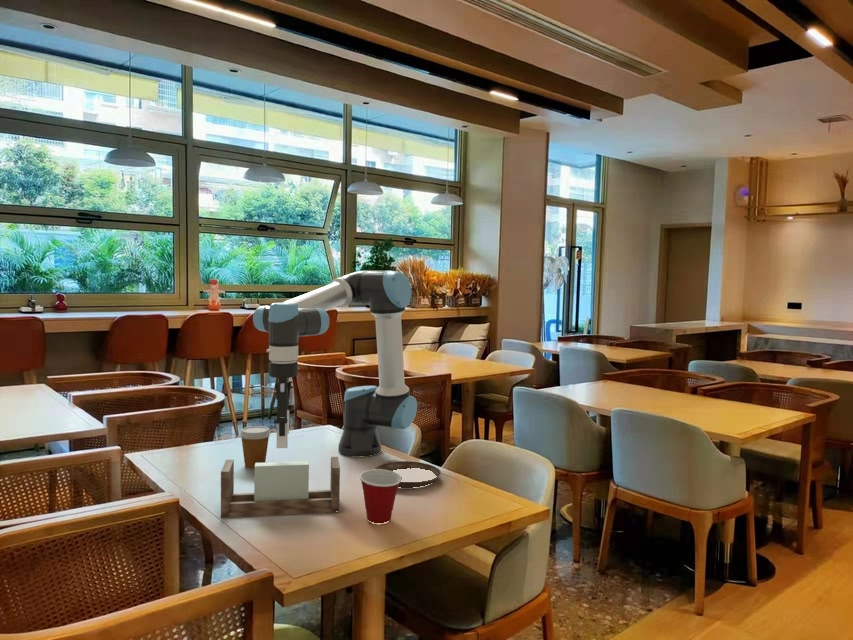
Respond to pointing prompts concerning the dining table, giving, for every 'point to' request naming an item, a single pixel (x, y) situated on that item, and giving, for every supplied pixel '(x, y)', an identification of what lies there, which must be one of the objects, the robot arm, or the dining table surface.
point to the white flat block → (281, 481)
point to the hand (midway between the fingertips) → (283, 440)
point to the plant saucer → (409, 464)
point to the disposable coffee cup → (254, 445)
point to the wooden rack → (248, 507)
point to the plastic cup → (379, 493)
